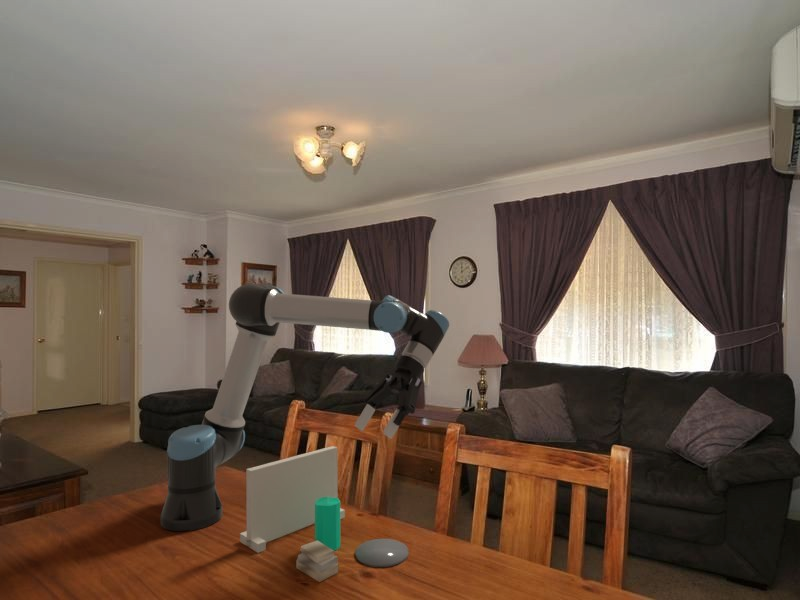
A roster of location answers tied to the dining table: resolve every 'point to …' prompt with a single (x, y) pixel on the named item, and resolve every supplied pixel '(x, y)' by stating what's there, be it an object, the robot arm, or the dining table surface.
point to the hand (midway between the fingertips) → (372, 432)
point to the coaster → (381, 552)
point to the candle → (328, 522)
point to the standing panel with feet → (287, 495)
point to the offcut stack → (317, 561)
